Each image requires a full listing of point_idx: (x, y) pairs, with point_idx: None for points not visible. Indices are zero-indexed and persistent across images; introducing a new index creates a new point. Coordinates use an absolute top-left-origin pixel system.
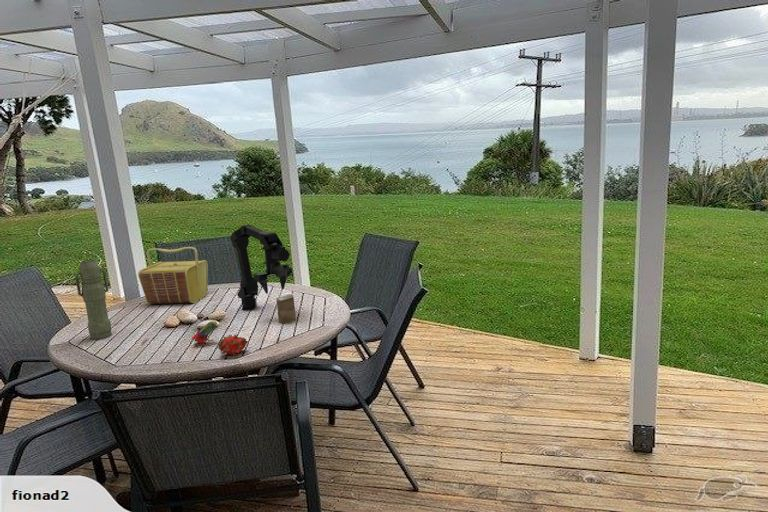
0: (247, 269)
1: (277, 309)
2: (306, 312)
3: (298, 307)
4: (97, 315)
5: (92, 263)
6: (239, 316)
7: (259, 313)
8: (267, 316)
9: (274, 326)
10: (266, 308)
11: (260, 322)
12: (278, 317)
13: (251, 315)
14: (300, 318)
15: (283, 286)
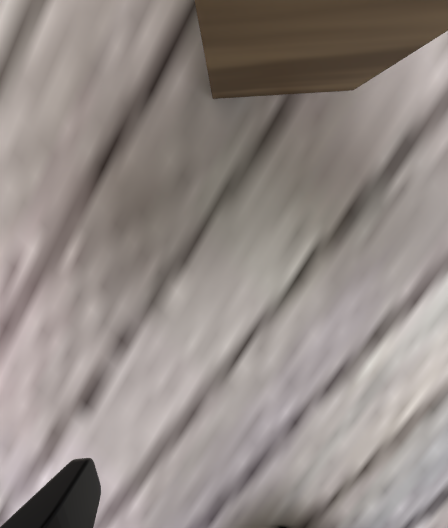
0: None
1: (430, 40)
2: (23, 158)
3: (20, 338)
4: None
5: None
6: (430, 473)
7: (306, 431)
8: (310, 327)
9: None
10: (211, 488)
11: (437, 235)
12: (375, 72)
13: (368, 434)
14: (148, 30)
15: (49, 509)
